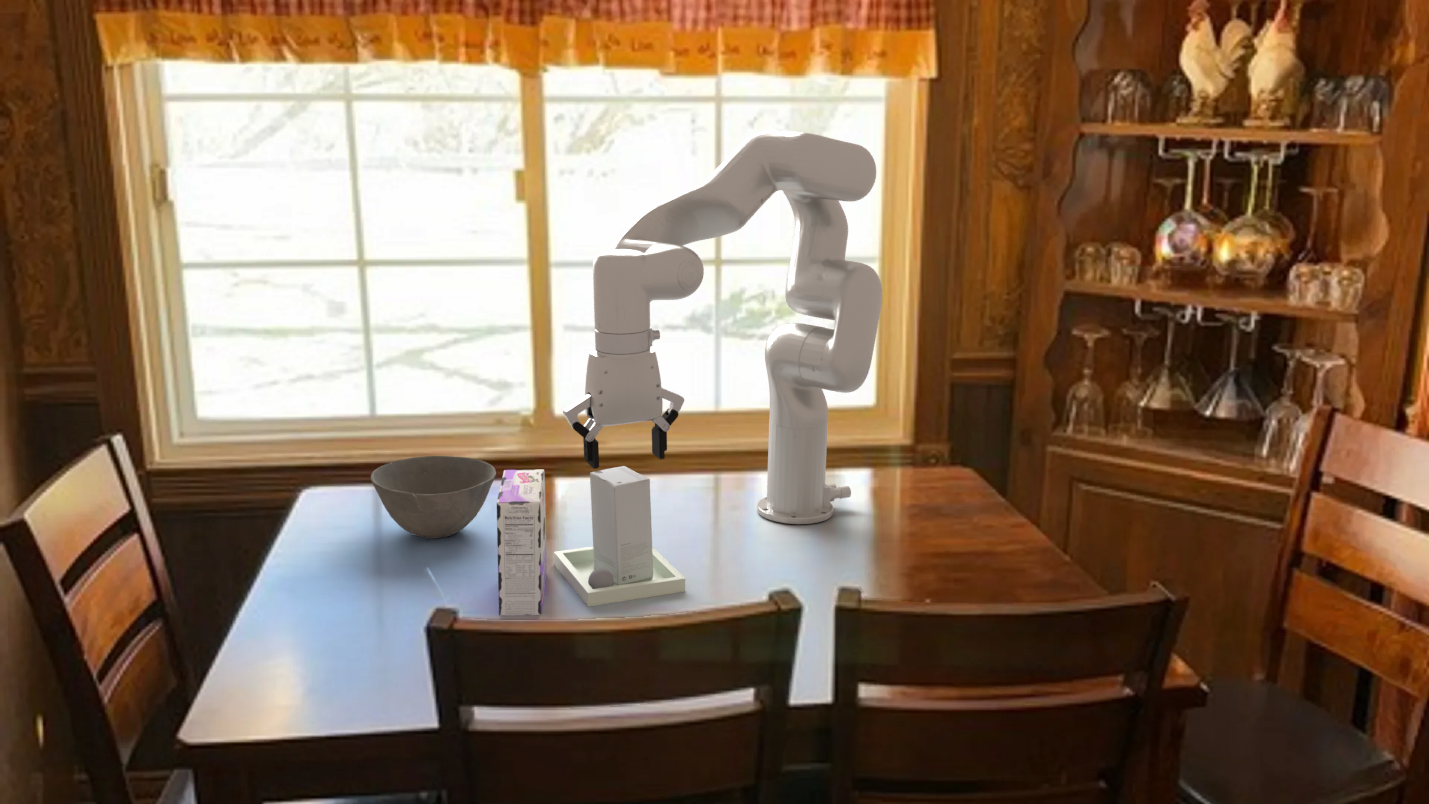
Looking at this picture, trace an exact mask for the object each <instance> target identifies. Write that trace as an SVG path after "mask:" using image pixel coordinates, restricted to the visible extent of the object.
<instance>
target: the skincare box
mask: <svg viewBox="0 0 1429 804" xmlns="http://www.w3.org/2000/svg"><path fill="white" fill-rule="evenodd" d="M589 477H590V479H589V480H590V481H589V483H590V502H591V503H590V504H591V505H590V506H591V508H590V509H591V526H592V527H591V528H592V547H593V554H594V568H595V569H600V568H602V569H606V570H608V571H610V572H611V574H612V575H613V578H614V582H615V583H616V584H617V585H623V584H627V583H632V582H639V581H645V580H649V579H652V578H653V555H652V547H653V534H652V533H653V530H652V509H651V508H652V506H651V505H652V503H651V478H650V477H649V478H648V477H647V476H645V475H643V474H641V473H638V472H636V471H634V470H633V469H631V468H629V467H627V466H625V465H622V466H621V465H620V466H617V467H616V466H615V467H612V468H611V467H610V468H605V469H602V470H595V471H592V472H589Z"/></svg>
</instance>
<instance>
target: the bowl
mask: <svg viewBox="0 0 1429 804" xmlns="http://www.w3.org/2000/svg"><path fill="white" fill-rule="evenodd" d="M496 471H497V470H496V468H495V467H494V466H493V465H492V464H490V463H489V462H487V461H484V460H481V459H477V458H472V457H466V456H465V457H464V456H453V455H452V456H447V455H427V456H415V457H410V458H405V459H399V460H395V461H392V462H388V463H385V464H384V465H381V466H378V467H377V468H376V469H374V470H373V471H372V473H371V475H370V481H371V483H372V486H373V487H374V489H375V491H376V493H377V494H378V495H377V496H378V497H379V500H380V501H381V503H382V505H383V506H384V508H385V510H386V512H387V514H389V516H390V518H392V519H393V521H394V522H395V523H396V524H397V525H398V526H399V527H400V528H402V529H403V530H405V532H407V533H409V534H411V535H413V536H417V537H421V538H425V539H442V538H446V537H450V536H453V535H454V534H457V533H459V532H461V531H462V530H464V528H466V527H467V526H468V525H469V524H470V523H471V522H472V521H473V520H474V519H475V517H477V515H478V514H479V513H480V511H481V509H482V508H483V506H484V504H485V502H486V500H487V497H488V495H489V492H490V490H491V487H492V484H493V483H494V480H495V478H496V475H497V472H496Z"/></svg>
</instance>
